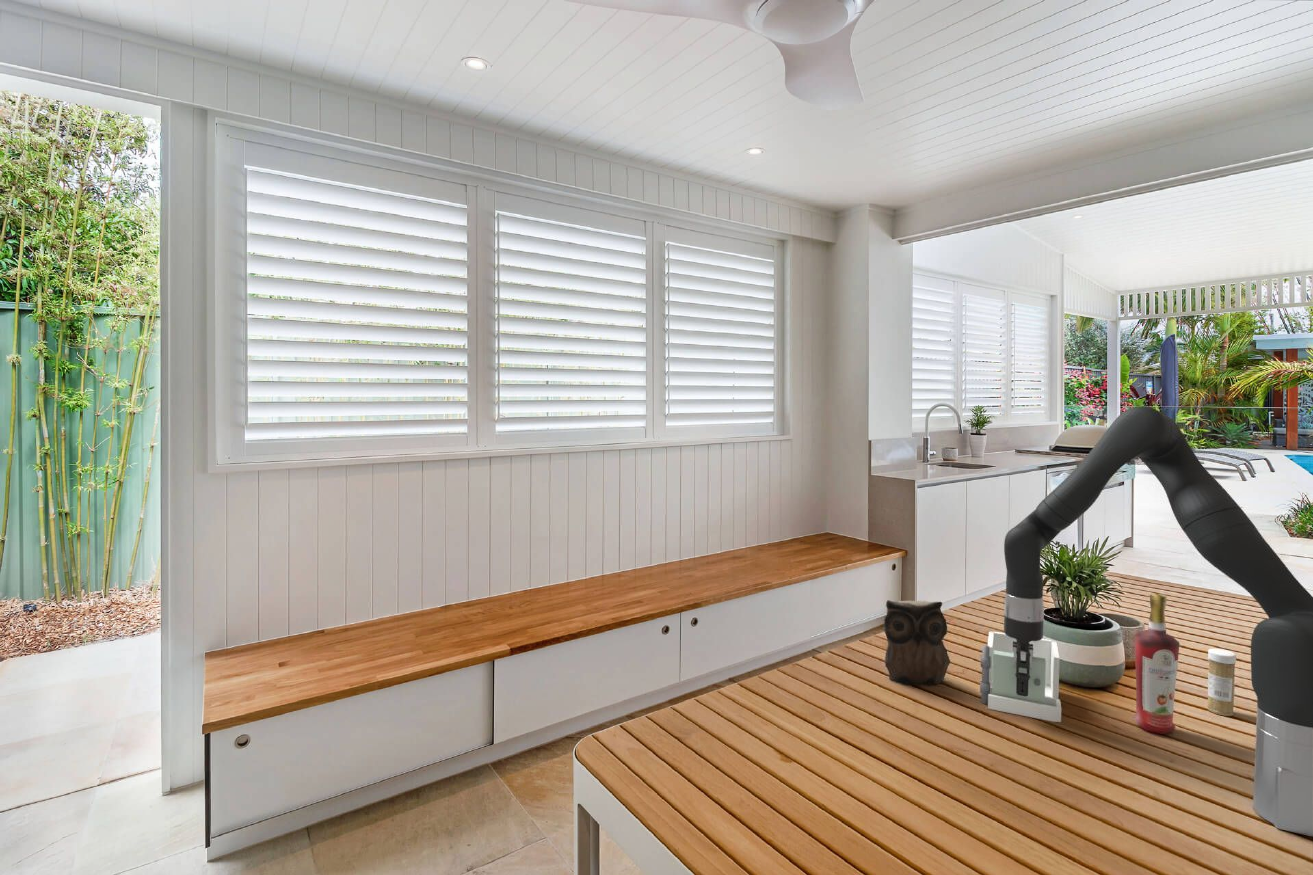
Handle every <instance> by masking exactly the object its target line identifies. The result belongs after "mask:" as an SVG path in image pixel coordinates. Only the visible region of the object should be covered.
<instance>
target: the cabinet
mask: <svg viewBox="0 0 1313 875" xmlns="http://www.w3.org/2000/svg"><path fill="white" fill-rule="evenodd" d="M1013 641H1015V642H1016V639H1015V638H1011V637H1009V636H1007V635H1006V634H1005V633H1004V632H1000V631H999V632H998V631H991V630H989V631H988V640H987V645H986V644H983V645H982V648H981V650H982V652H981V653H982V654H981V655H980V667H981V680H980V683H979V693H980V694H981V699H980V700H981V704H983V705H987V709H989V710H993V711H999V712H1004V713H1008V714H1014V715H1018V716H1022V717H1023V716H1024V717H1028V718H1033V719H1038V720H1043V721H1047V722H1053V723H1057V722H1058V723H1062V705H1061V704H1062V703H1061V699H1059V688H1060V687H1059V685H1060V684H1059V682H1060V654H1059V648H1058V644H1057V643H1058V642H1057V640H1054V639H1046V638H1042V639H1041V640H1039V641H1030V642H1029V644H1033V657H1039V658H1045V661H1046V670H1045V705H1044V704H1039V703H1033V702H1028V701H1023V700H1017V699H1012V698H1007V697H1002V696H996V695H992V692H993V652H994V650H996V651H1002V652H1008V653H1013Z"/></svg>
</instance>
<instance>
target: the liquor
mask: <svg viewBox="0 0 1313 875" xmlns="http://www.w3.org/2000/svg"><path fill="white" fill-rule="evenodd" d="M1149 606H1150V613H1149V621H1148V629H1147V630H1142V631H1140V632H1138V633H1136V634H1134V662H1135V666H1134V667H1135V684H1136V685H1135V688H1136V690H1135V692H1136V695H1135V696H1136V697H1135V698H1136V701H1135V703H1136V714H1134V716H1133V721H1135V722H1136V723H1137V724H1138V726H1139V727H1140V728H1141V729H1142V730H1144V731H1146V732H1149V733H1152V734H1159V735H1164V734H1167V733H1170V732H1171V731H1174V730H1175V729H1176V726H1175V724H1174V722H1173V720H1174V708H1175V707H1174V705H1175V693H1176V692H1175V691H1176V685H1177V684H1176V682H1177V674H1178V665H1179V653H1180V642H1179V641H1178V640H1177V639H1176V638H1175V637H1174V636H1172V635H1171V634H1168V633H1167V626H1166V616H1165V614H1166V613H1165V612H1166V611H1165V610H1166V607H1167V595H1164V594H1160V593H1150V594H1149Z"/></svg>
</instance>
